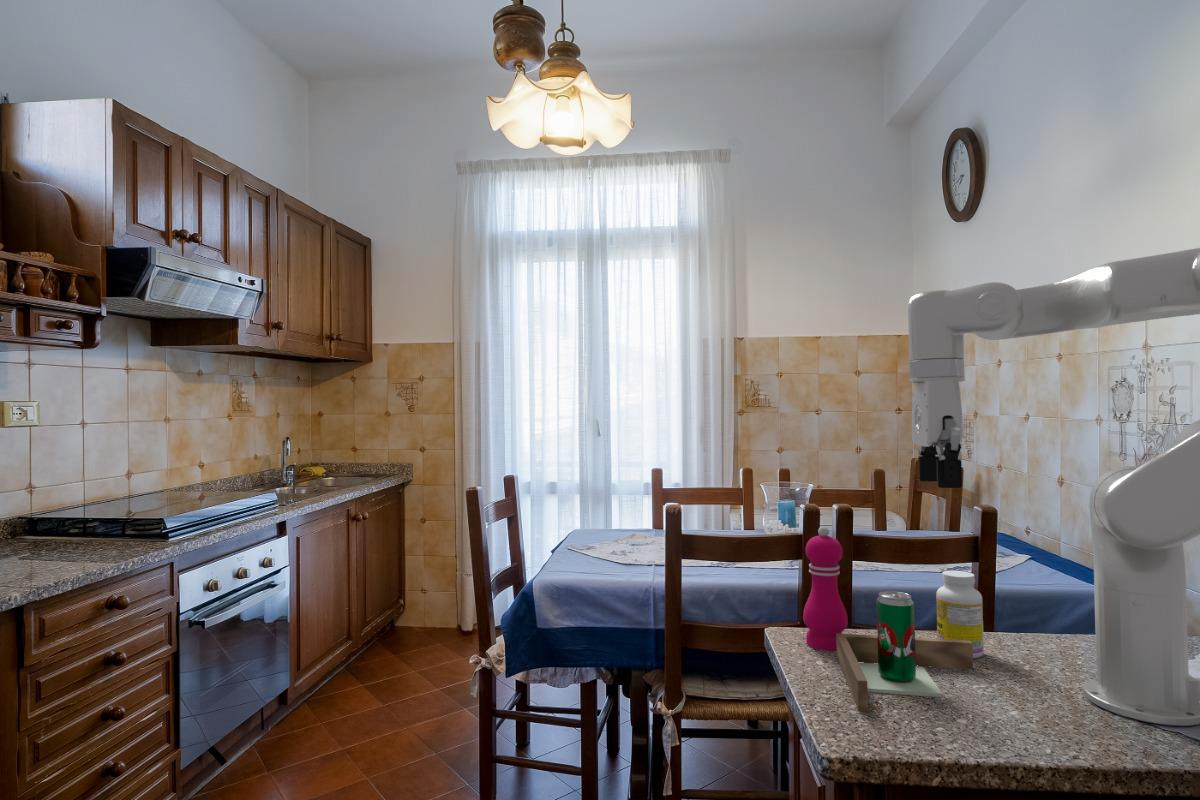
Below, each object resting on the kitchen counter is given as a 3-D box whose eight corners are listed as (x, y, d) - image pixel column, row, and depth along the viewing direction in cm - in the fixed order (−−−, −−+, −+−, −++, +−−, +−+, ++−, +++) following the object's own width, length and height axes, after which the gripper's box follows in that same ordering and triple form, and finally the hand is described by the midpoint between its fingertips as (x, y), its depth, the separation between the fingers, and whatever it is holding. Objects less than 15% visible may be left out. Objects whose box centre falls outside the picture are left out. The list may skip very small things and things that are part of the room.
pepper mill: (796, 638, 115) (794, 523, 115) (836, 636, 116) (833, 522, 116) (814, 653, 108) (812, 530, 108) (856, 651, 108) (853, 529, 109)
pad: (922, 669, 100) (922, 666, 100) (942, 697, 90) (942, 693, 90) (853, 665, 102) (853, 662, 102) (865, 691, 92) (865, 688, 93)
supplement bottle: (941, 642, 112) (939, 567, 112) (986, 650, 108) (984, 572, 108) (934, 654, 107) (932, 574, 107) (981, 663, 103) (979, 580, 103)
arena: (970, 666, 101) (969, 640, 101) (1023, 723, 82) (1022, 691, 83) (836, 658, 105) (836, 633, 105) (858, 711, 86) (857, 680, 87)
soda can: (910, 671, 98) (908, 590, 99) (920, 685, 93) (918, 600, 94) (874, 669, 99) (873, 589, 100) (882, 682, 94) (880, 598, 95)
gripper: (896, 376, 110) (899, 478, 110) (925, 369, 93) (929, 490, 93) (945, 375, 109) (948, 479, 108) (984, 367, 92) (987, 491, 91)
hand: (939, 484), depth 100 cm, fingers open, 9 cm apart
